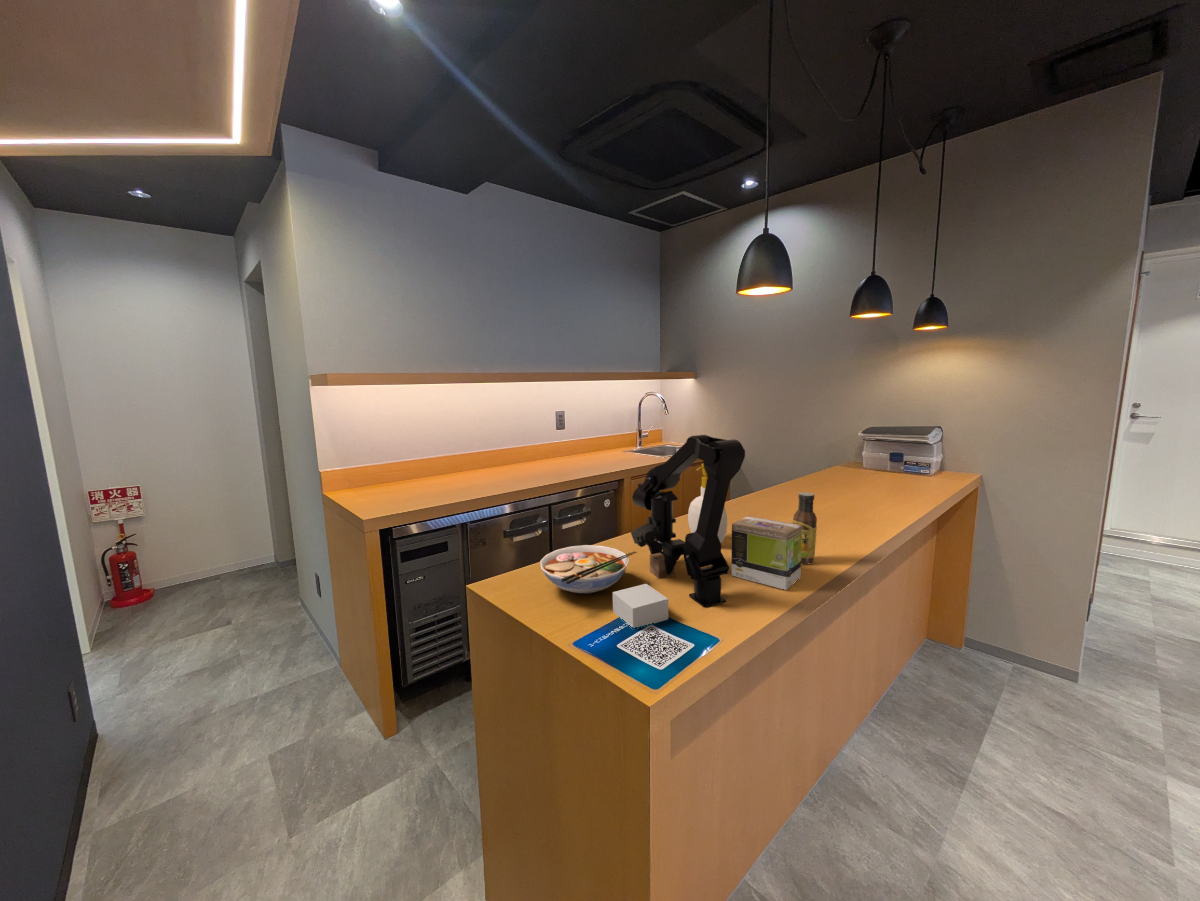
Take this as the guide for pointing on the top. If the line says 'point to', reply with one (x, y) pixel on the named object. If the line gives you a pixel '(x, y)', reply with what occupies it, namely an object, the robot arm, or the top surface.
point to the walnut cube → (659, 566)
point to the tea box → (766, 551)
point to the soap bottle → (696, 508)
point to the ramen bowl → (585, 567)
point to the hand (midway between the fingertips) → (662, 569)
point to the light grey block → (640, 605)
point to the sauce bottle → (806, 526)
